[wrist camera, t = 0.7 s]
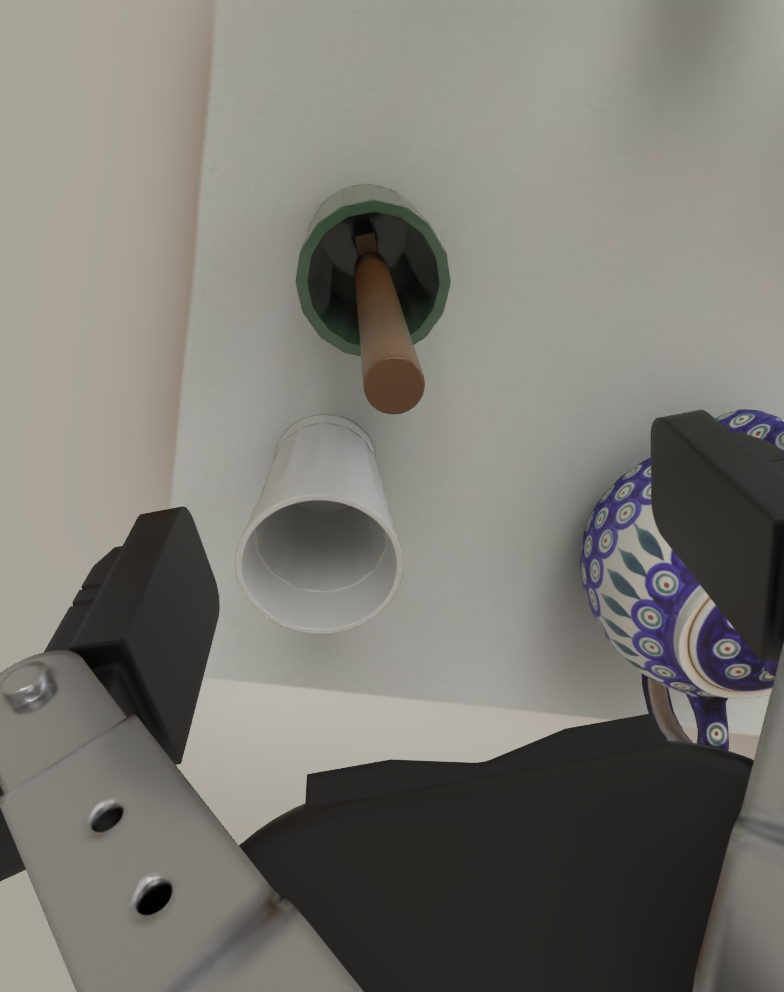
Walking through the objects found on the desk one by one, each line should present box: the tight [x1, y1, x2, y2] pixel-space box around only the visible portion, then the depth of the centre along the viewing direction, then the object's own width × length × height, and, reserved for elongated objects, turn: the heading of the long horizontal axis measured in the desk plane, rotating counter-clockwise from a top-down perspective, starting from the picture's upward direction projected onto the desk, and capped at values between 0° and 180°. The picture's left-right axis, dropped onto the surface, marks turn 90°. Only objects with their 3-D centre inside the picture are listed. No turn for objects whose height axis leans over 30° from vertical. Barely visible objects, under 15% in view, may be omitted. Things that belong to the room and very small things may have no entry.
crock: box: [296, 184, 450, 356], centre depth 34 cm, size 7×7×9 cm
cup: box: [235, 415, 403, 634], centre depth 39 cm, size 8×8×12 cm
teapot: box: [580, 410, 784, 751], centre depth 41 cm, size 25×15×15 cm, turn 173°
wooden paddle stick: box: [353, 220, 425, 414], centre depth 28 cm, size 3×2×22 cm, turn 10°
